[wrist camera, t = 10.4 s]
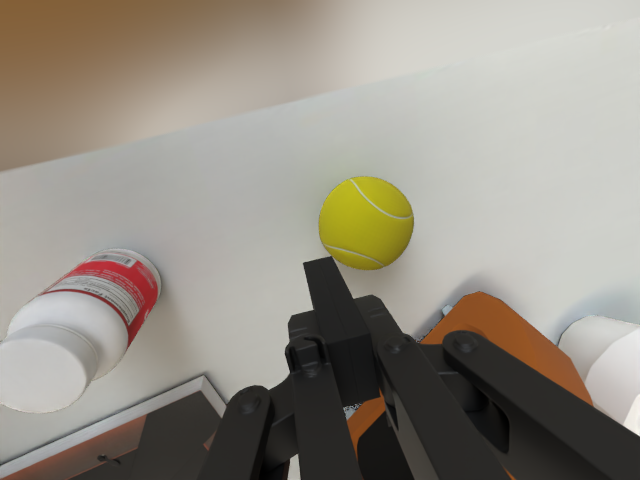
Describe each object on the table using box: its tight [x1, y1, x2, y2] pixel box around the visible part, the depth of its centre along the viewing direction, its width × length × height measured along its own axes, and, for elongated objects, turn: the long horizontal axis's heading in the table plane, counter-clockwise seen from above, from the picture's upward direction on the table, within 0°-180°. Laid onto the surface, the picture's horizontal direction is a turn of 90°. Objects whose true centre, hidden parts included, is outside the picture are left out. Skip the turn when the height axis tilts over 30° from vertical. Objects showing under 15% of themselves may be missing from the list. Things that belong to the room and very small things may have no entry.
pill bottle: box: [0, 248, 161, 413], centre depth 21 cm, size 6×6×11 cm
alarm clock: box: [346, 291, 594, 480], centre depth 27 cm, size 23×9×17 cm, turn 141°
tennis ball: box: [319, 177, 414, 270], centre depth 24 cm, size 7×7×7 cm
